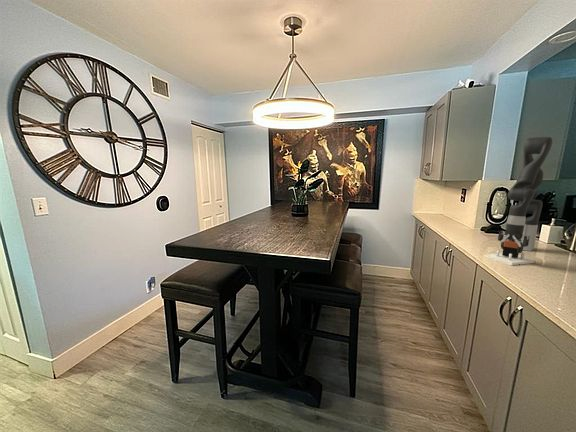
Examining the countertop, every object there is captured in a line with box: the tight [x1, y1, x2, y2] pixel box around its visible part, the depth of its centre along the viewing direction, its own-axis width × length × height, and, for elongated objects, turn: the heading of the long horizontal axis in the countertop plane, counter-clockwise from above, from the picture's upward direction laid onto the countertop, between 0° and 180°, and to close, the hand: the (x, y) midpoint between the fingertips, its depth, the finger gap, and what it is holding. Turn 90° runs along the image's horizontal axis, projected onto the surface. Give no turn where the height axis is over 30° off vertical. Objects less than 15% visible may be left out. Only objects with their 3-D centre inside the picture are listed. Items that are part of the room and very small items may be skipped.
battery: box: [501, 239, 520, 258], centre depth 140 cm, size 4×7×10 cm, turn 46°
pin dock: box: [485, 249, 536, 266], centre depth 141 cm, size 18×14×5 cm
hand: (510, 250), depth 140 cm, fingers closed on battery, 7 cm apart
